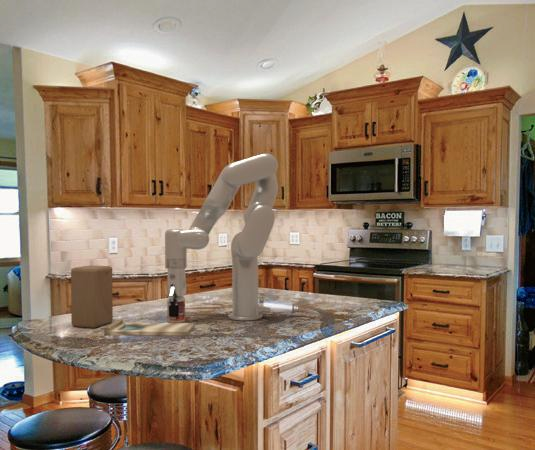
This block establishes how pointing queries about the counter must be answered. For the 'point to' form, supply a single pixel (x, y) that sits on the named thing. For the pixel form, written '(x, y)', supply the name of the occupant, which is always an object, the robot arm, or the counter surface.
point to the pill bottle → (181, 311)
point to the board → (148, 328)
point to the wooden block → (91, 296)
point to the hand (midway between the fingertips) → (176, 314)
